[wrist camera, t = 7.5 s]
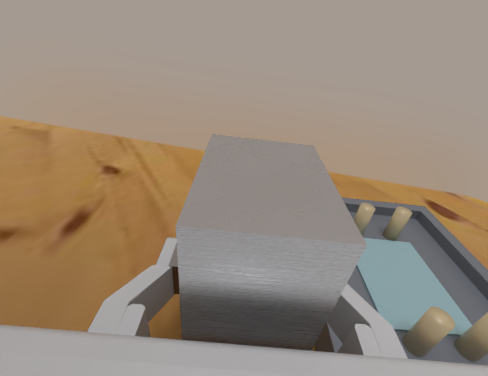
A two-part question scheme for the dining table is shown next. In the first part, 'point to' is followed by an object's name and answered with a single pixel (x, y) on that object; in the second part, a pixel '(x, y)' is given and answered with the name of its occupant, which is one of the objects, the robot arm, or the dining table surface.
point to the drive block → (262, 245)
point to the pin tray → (419, 284)
